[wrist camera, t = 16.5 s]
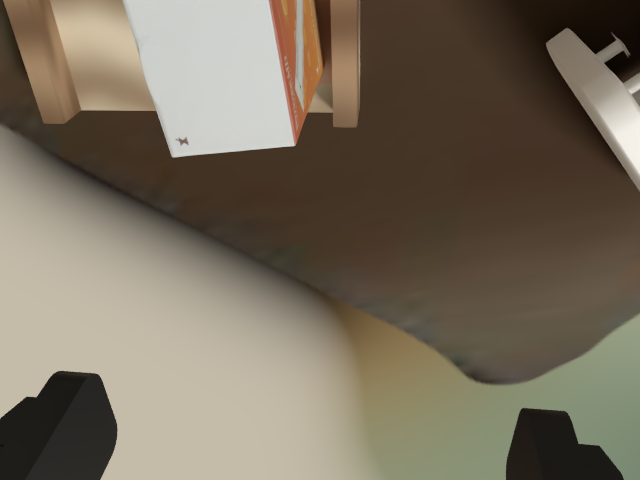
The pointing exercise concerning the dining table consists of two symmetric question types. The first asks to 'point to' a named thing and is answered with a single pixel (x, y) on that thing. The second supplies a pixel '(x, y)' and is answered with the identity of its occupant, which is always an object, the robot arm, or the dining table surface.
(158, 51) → the small box
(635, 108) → the cable organizer
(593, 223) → the dining table surface
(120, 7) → the slot rack
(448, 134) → the dining table surface
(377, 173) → the dining table surface
